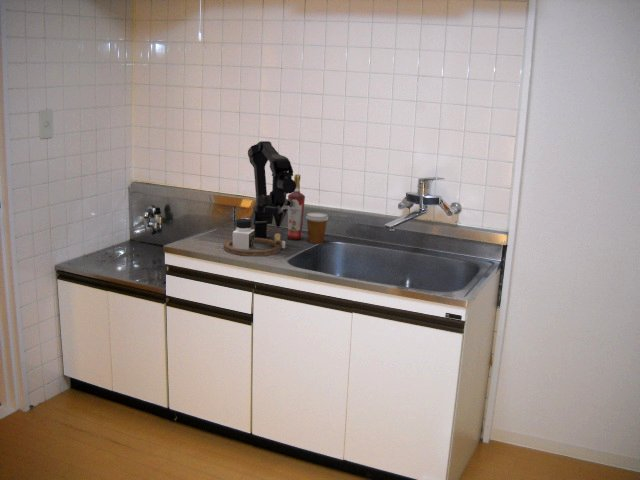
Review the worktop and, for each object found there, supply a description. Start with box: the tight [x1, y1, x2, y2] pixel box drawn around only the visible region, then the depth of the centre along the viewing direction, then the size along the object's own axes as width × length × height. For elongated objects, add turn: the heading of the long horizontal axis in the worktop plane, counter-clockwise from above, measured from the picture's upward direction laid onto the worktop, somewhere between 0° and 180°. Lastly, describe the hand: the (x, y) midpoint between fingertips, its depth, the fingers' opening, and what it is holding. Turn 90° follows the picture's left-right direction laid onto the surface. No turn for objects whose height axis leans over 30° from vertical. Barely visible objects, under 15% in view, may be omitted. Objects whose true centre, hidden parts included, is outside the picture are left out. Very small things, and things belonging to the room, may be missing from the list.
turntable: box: [222, 233, 282, 257], centre depth 296 cm, size 23×23×6 cm
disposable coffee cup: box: [305, 211, 329, 245], centre depth 311 cm, size 10×10×12 cm
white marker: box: [280, 240, 286, 249], centre depth 300 cm, size 1×2×2 cm, turn 18°
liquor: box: [286, 173, 306, 241], centre depth 313 cm, size 7×7×28 cm
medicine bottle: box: [231, 217, 255, 251], centre depth 296 cm, size 7×7×12 cm
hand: (278, 226), depth 296 cm, fingers closed
